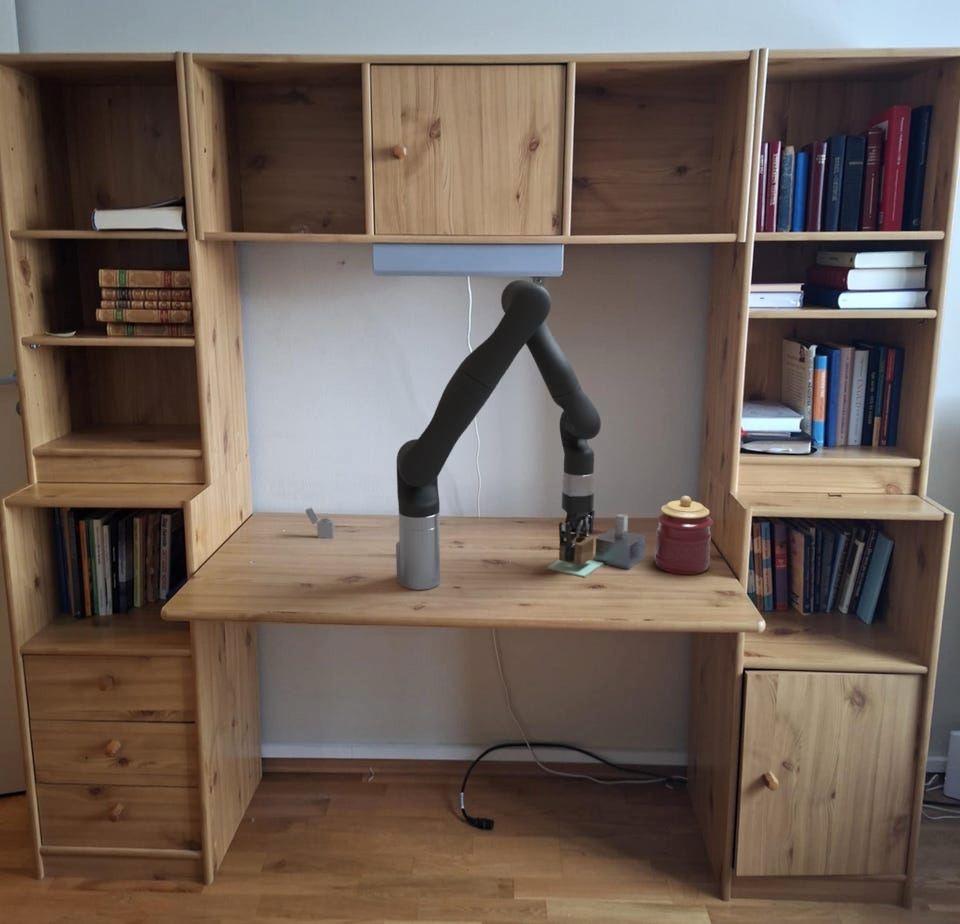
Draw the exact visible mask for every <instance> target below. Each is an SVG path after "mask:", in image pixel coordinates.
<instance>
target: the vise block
mask: <svg viewBox="0 0 960 924" xmlns="http://www.w3.org/2000/svg"><path fill="white" fill-rule="evenodd" d="M628 524H629V515H628V514H625V513H624V514H623V513H618V514H616V515H615V528H611V529H609V530H608V531H606V532H604V533H603V534H601V535H600V536H598V537H596V538H595V560H594V561H597V562H602V563H604V565H609V566H612V567H617V568H621V569H626V570H630V569H632V568H633V567H635V566H636V565H637V564H639V563H640V562H642V561H643V560H644V559H645V552H646V551H645V550H646V535H645V534H642V533H637V532H636V533H635V532H631V531H628Z"/></svg>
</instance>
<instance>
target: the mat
mask: <svg viewBox="0 0 960 924" xmlns="http://www.w3.org/2000/svg"><path fill="white" fill-rule="evenodd" d="M604 565H605V564H604V563H602V562H597V561H595V560H593V559H590V560H589V561H587V562H586V563H584V564H583V565H578V564H573V563H569V562H565V561H561V560H559V559H558V560H557V561H555V562H553V563H552V564H550V565H548V566H547V570H553V571H556V572H560V573H565V574H569V575H573V576H577V577H581V578H586V577H588V576H589V575H591V574H592V573H594V572H595V571H596V570H597V569H599V568H601V567H602V566H604Z"/></svg>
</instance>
